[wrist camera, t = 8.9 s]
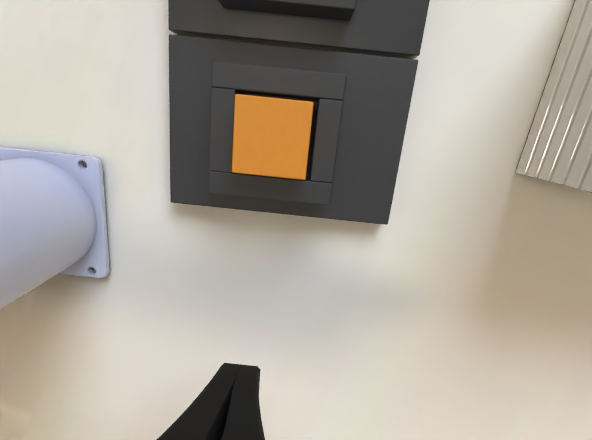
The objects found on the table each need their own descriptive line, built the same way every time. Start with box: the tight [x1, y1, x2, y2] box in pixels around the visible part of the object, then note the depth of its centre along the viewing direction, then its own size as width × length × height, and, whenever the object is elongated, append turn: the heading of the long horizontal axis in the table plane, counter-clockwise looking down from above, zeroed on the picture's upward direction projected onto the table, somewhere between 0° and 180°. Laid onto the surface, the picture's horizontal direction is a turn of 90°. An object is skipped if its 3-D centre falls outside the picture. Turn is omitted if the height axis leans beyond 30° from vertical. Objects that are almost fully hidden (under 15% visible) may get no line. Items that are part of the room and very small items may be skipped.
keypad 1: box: [169, 34, 418, 224], centre depth 18 cm, size 13×9×3 cm
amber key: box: [232, 94, 314, 180], centre depth 17 cm, size 4×4×2 cm
